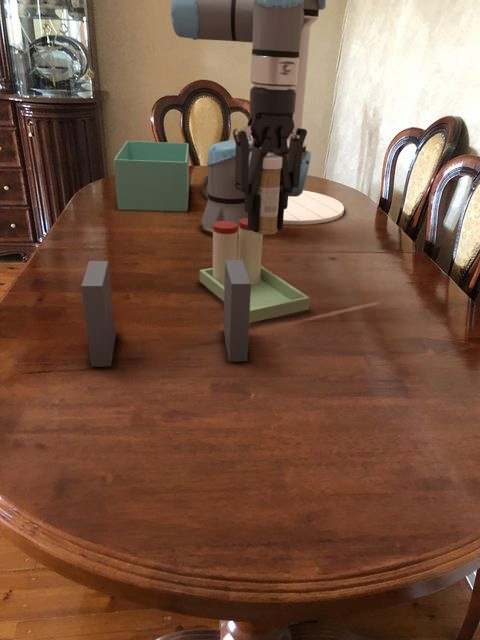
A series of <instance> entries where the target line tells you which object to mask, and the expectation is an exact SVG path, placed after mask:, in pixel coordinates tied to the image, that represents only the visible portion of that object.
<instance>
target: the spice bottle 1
mask: <svg viewBox="0 0 480 640" xmlns="http://www.w3.org/2000/svg"><path fill="white" fill-rule="evenodd" d="M238 243H239V237H238V224H237V223H235V222H231V221H218V222H215V223H213V235H212V268H213V278H214V279H215V280H217V281H218V282H219V283H220V284H222V285H223V286H224V284H225V260H238Z"/></svg>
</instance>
